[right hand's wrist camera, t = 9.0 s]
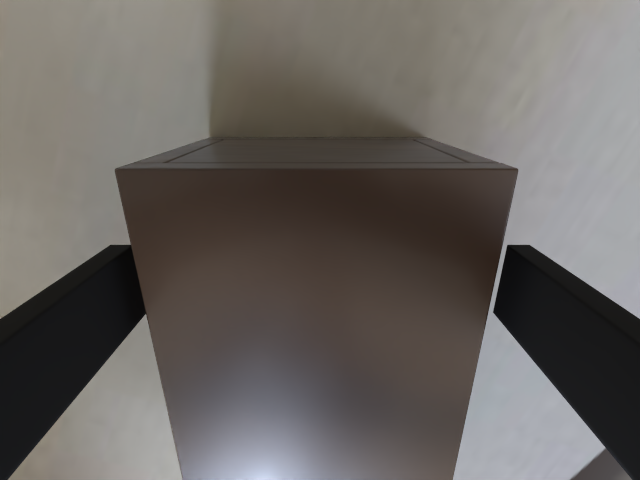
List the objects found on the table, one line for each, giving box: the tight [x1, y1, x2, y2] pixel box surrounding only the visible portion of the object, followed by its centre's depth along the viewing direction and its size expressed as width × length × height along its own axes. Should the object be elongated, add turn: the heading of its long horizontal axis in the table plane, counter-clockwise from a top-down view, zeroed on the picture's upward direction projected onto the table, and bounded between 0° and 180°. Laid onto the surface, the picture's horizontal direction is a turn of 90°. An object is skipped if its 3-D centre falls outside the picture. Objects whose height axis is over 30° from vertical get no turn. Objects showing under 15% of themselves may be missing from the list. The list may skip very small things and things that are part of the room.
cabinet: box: [115, 138, 518, 480], centre depth 15 cm, size 16×10×8 cm, turn 0°
